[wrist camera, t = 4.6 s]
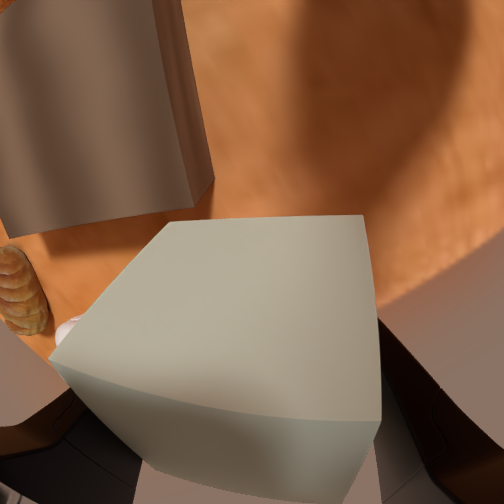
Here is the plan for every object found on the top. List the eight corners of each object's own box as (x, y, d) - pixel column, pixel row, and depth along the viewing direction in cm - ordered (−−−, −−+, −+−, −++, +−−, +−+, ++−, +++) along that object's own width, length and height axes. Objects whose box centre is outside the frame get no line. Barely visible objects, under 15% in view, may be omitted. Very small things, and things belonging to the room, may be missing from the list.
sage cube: (363, 214, 8) (381, 421, 3) (354, 356, 11) (340, 504, 6) (169, 221, 10) (48, 358, 5) (211, 347, 13) (155, 470, 8)
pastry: (-6, 232, 21) (-31, 254, 18) (39, 249, 21) (13, 275, 18) (14, 304, 26) (-4, 326, 23) (57, 324, 26) (40, 350, 23)
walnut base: (172, -49, 9) (141, -75, 6) (214, 178, 16) (194, 207, 13) (2, 45, 12) (-37, 51, 8) (42, 212, 19) (9, 238, 16)
